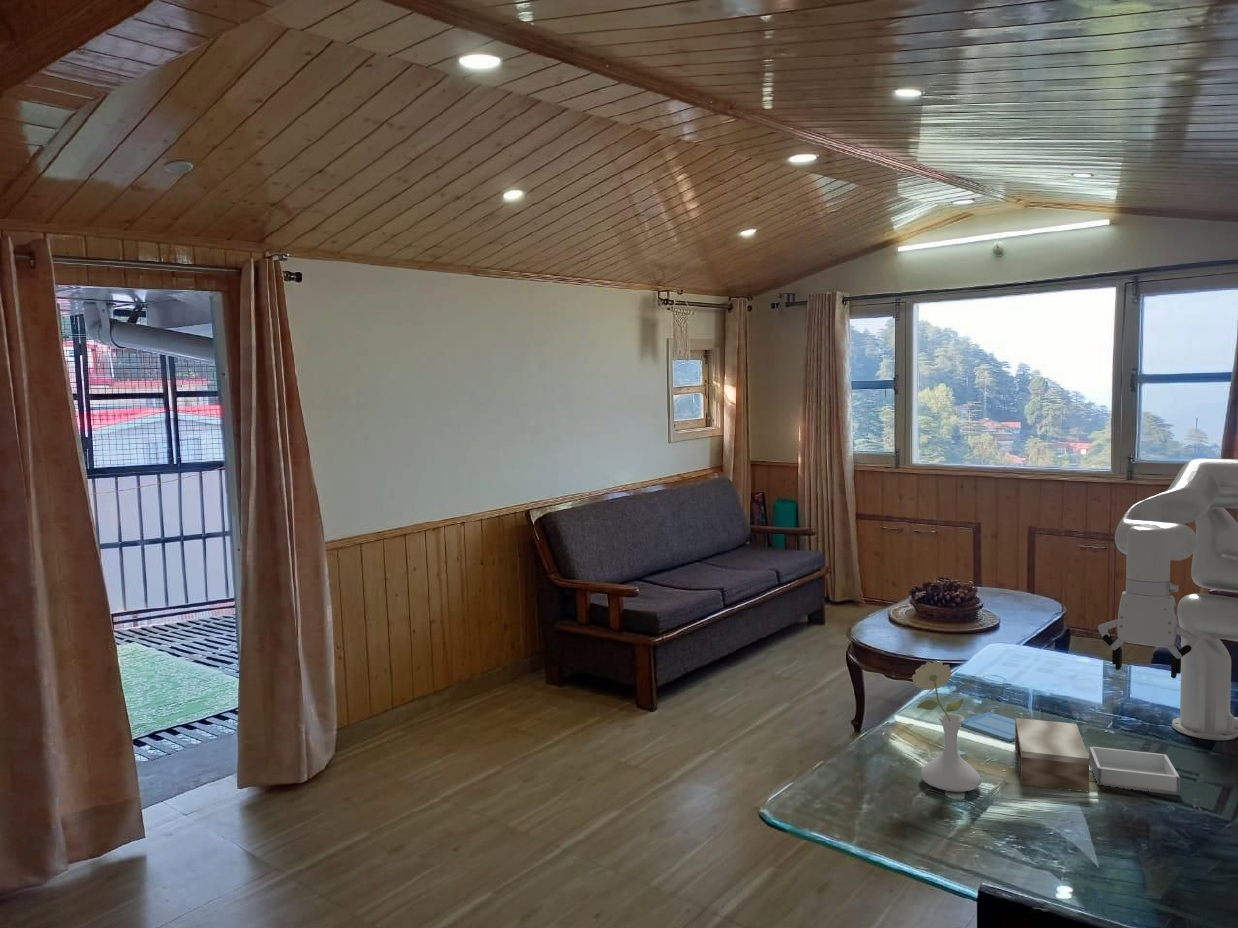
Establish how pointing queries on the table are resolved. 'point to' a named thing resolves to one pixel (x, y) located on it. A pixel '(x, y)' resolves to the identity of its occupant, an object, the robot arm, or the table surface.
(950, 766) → the flower in vase
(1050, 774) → the tan slab
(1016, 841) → the table surface
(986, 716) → the blue flat rectangular slab
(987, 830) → the table surface
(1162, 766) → the white open tray
